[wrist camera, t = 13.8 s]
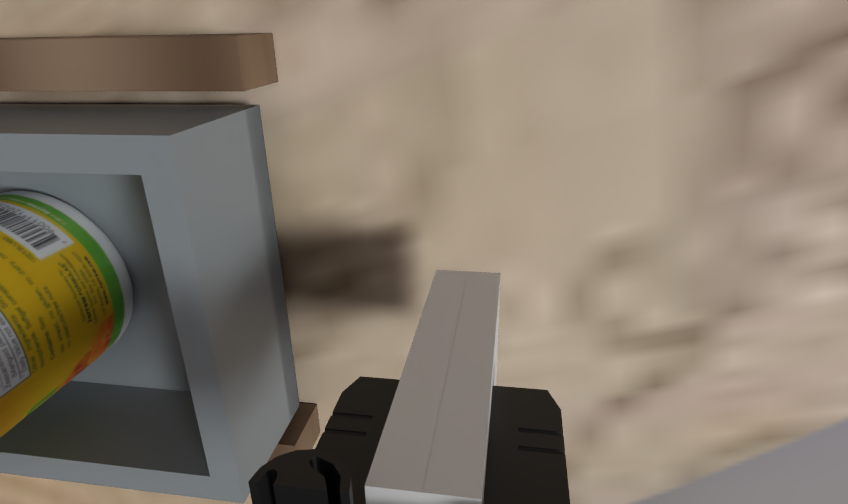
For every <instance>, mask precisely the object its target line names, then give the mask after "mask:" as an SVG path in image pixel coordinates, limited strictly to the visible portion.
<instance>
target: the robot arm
mask: <svg viewBox="0 0 848 504" xmlns="http://www.w3.org/2000/svg"><path fill="white" fill-rule="evenodd" d="M499 298H500V273H487V272H467V271H447V270H436V273H435V276H434V279H433V282H432V285H431V288H430V291H429V294H428V297H427V300H426V303H425V306H424V309H423V312H422V315H421V318H420V321H419V324H418V327H417V330H416V333H415V336H414V339H413V342H412V345H411V348H410V351H409V354H408V357H407V360H406V363H405V366H404V369H403V372H402V375H401V378H400V380H396V379H384V378H372V377H359V378H358V379H357V380H356V381H355V382H354V383H352V384H351V385H350V386H349V387H348V388H347V389H345V390H344V391H343V392H342V394H341V396H340V398H339V400H338V402H337V404H336V406H335V408H334V411H333V415H332V416H331V417H330V419H329V421H328V423H327V425H326V427H325V432H324V433H323V434H322V436H321V438H320V440H319V442H318V444H317V446H316V448H315V449H308V450H295V451H292V452H289V453H286V454H282V455H279V456H277V457H275V458H274V459H272V460H271V461H269V462H267V463H266V464H264V465H263V466H261V467H260V468H259V469H258V471H257V472H256V473H255V474H254V475H253V476H252V478H251V479H250V480H249V481H248V483H249V488H250V493H251V498H252V504H570V499H569V489H568V478H567V468H566V458H565V448H564V438H563V427H562V417H561V409H560V408H559V406H558V405H557V404H556V402H555V401H554V399H553V398H552V396H551V395H550V393H549V392H548V390H539V389H527V388H515V387H503V386H496V374H497V351H498V324H499Z"/></svg>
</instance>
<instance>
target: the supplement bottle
mask: <svg viewBox="0 0 848 504" xmlns="http://www.w3.org/2000/svg"><path fill="white" fill-rule="evenodd" d="M132 310H133V288H132V283H131V279H130V276H129V273H128V270H127V268H126V265H125V263H124V261H123V259H122V257H121V255H120V254H119V252H118V250H117V249H116V247H115V246H114V244H113V243H112V242H111V240H110V239H109V238H108V237H107V235H106V234H105V233H104V232H103V231H102V230H101V229H100V228H99V227H98V226H97V225H96V224H95V223H94V222H92V221H91V220H90V219H89V218H88V217H86V216H85V215H84V214H83V213H81V212H80V211H78V210H77V209H75V208H74V207H72V206H70V205H69V204H67V203H65V202H63V201H61V200H58V199H56V198H53V197H50V196H47V195H44V194H41V193H36V192H29V191H10V192H3V193H0V437H2V436H3V435H4V434H5V433H6V432H8V431H9V430H10V429H11V428H13V427H14V426H15V425H16V424H18V423H19V422H20V421H21V420H22V419H24V418H25V417H26V416H27V415H29V414H30V413H31V412H32V411H34V410H35V409H36V408H37V407H38V406H40V405H41V404H42V403H43V402H45V401H46V400H47V399H48V398H49V397H51V396H52V395H53V394H54V393H56V392H57V391H58V390H59V389H61V388H62V387H63V386H64V385H65V384H67V383H68V382H69V381H70V380H72V379H73V378H74V377H75V376H77V375H78V374H79V373H80V372H82V371H83V370H84V369H85V368H87V367H88V366H89V365H90V364H91V363H92V362H94V361H95V360H96V359H97V358H98V357H100V356H101V355H102V354H103V353H104V352H106V351H107V350H108V349H109V348H110V347H111V346H112V345H113V344H115V343H116V342H117V341H118V339H119V338H120V337H121V336H122V334H123V333H124V331H125V330H126V328H127V326H128V324H129V321H130V319H131V315H132Z"/></svg>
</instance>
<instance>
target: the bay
mask: <svg viewBox="0 0 848 504" xmlns="http://www.w3.org/2000/svg"><path fill="white" fill-rule="evenodd" d="M275 82H278V77H277V68H276V60H275V51H274V43H273V35H272V33H250V34H194V35H138V36H82V37H26V38H0V91H246V90H250V89H253V88H257V87H261V86H264V85H268V84H271V83H275ZM319 433H320V427H319V419H318V411H317V404H308V403H300V405H299V407H298V409H297V411H296V412H295V414H294V416H293V418H292V419H291V421H290V423H289V425H288V426H287V428H286V430H285V432H284V433H283V435H282V437H281V439H280V440H279V442H278V444H277V446H276V448H275V449H274V451H273V453H272V455H271V456H270V458H269V460H268V462H269V461H271V460H272V459H274V458H275V457H277V456H279V455H282V454H286V453H289V452H292V451H295V450H308V449H312V448H313V446H314V444H315V441H316V439H317V437H318V435H319Z"/></svg>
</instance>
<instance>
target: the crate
mask: <svg viewBox="0 0 848 504" xmlns="http://www.w3.org/2000/svg"><path fill="white" fill-rule="evenodd" d="M10 191H29V192H36V193H41V194H44V195H47V196H50V197H53V198H56V199H58V200H61V201H63V202H65V203H67V204H69V205H70V206H72V207H74V208H75V209H77V210H78V211H80V212H81V213H83V214H84V215H85V216H86V217H88V218H89V219H90V220H91V221H92V222H94V223H95V224H96V225H97V226H98V227H99V228H100V229H101V230H102V231H103V232H104V233H105V234H106V235H107V237H108V238H109V239H110V240H111V242H112V243H113V244H114V246H115V247H116V249H117V250H118V252H119V254H120V255H121V257H122V259H123V261H124V263H125V265H126V268H127V270H128V273H129V276H130V279H131V283H132V288H133V310H132V315H131V319H130V321H129V324H128V326H127V328H126V330H125V331H124V333H123V334H122V336H121V337H120V338H119V339H118V341H117V342H116V343H115V344H113V345H112V346H111V347H110V348H109V349H108V350H107V351H106V352H104V353H103V354H102V355H101V356H100V357H98V358H97V359H96V360H95V361H94V362H92V363H91V364H90V365H89V366H88V367H87V368H85V369H84V370H83V371H82V372H80V373H79V374H78V375H77V376H75V377H74V378H73V379H72V380H70V381H69V382H68V383H67V384H65V385H64V386H63V387H62V388H61V389H59V390H58V391H57V392H56V393H54V394H53V395H52V396H51V397H49V398H48V399H47V400H46V401H45V402H43V403H42V404H41V405H40V406H38V407H37V408H36V409H35V410H34V411H32V412H31V413H30V414H29V415H27V416H26V417H25V418H24V419H22V420H21V421H20V422H19V423H18V424H16V425H15V426H14V427H13V428H11V429H10V430H9V431H8V432H6V433H5V434H4V435H3V436H2V437H0V473H5V474H13V475H21V476H29V477H37V478H45V479H53V480H61V481H69V482H77V483H85V484H93V485H101V486H109V487H117V488H125V489H133V490H141V491H149V492H157V493H165V494H173V495H181V496H189V497H197V498H205V499H213V500H221V501H229V502H237V503H244V502H245V500H246V499H247V497H248V495H249V493H250V488H249V483H248V481H249V480H250V479H251V478H252V476H253V475H254V474H255V473H256V472H257V471H258V469H259V468H260V467H261V466H263V465H264V464H266V463H267V462H268V460H269V458H270V456H271V455H272V453H273V451H274V449H275V448H276V446H277V444H278V442H279V440H280V439H281V437H282V435H283V433H284V432H285V430H286V428H287V426H288V425H289V423H290V421H291V419H292V418H293V416H294V414H295V412H296V411H297V409H298V407H299V405H300V403H299V396H298V388H297V381H296V374H295V366H294V359H293V351H292V344H291V337H290V329H289V322H288V314H287V307H286V299H285V292H284V285H283V277H282V270H281V262H280V255H279V248H278V240H277V233H276V225H275V218H274V210H273V203H272V196H271V188H270V181H269V173H268V166H267V159H266V151H265V144H264V136H263V129H262V121H261V114H260V107H259V105H186V104H0V193H3V192H10Z"/></svg>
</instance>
